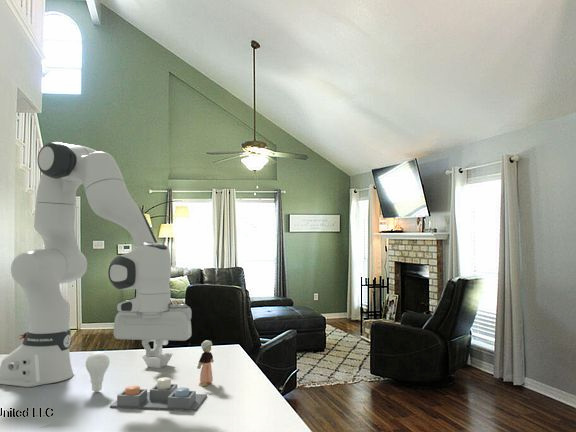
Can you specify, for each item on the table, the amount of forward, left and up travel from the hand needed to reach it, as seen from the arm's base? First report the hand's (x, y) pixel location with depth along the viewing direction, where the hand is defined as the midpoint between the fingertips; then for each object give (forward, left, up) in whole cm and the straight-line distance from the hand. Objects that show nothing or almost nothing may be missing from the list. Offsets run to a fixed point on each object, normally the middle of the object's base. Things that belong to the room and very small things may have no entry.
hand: (152, 356), depth 123 cm
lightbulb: (-18, +6, -12) cm, 22 cm away
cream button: (+2, +3, -10) cm, 10 cm away
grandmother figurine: (+10, +17, -12) cm, 23 cm away
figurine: (-11, +34, -12) cm, 37 cm away
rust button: (-4, -2, -11) cm, 11 cm away
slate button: (+9, -2, -10) cm, 14 cm away
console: (+2, 0, -12) cm, 12 cm away
